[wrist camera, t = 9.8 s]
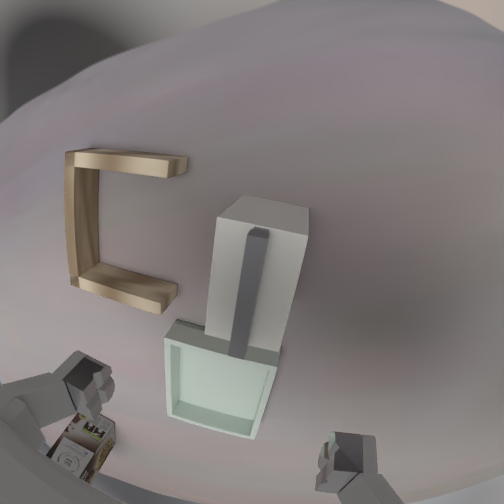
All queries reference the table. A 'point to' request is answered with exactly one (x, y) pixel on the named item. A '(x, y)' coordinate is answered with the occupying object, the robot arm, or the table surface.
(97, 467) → the coffee box
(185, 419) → the tray
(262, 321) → the white block
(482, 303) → the table surface
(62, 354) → the table surface
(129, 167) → the bay
